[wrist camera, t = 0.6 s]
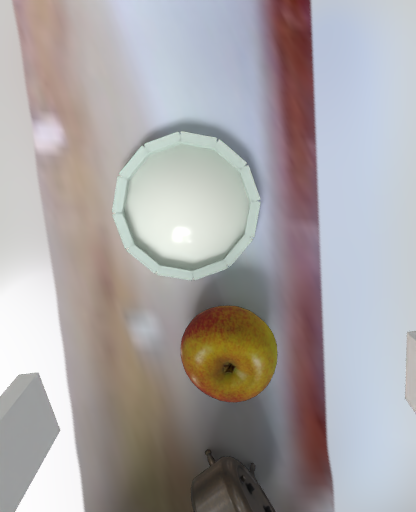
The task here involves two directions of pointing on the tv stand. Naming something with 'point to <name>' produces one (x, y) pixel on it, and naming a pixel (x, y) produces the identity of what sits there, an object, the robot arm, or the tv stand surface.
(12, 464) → the robot arm
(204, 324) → the fruit
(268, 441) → the tv stand surface
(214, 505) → the alarm clock
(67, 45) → the tv stand surface
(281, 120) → the tv stand surface
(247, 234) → the dish
